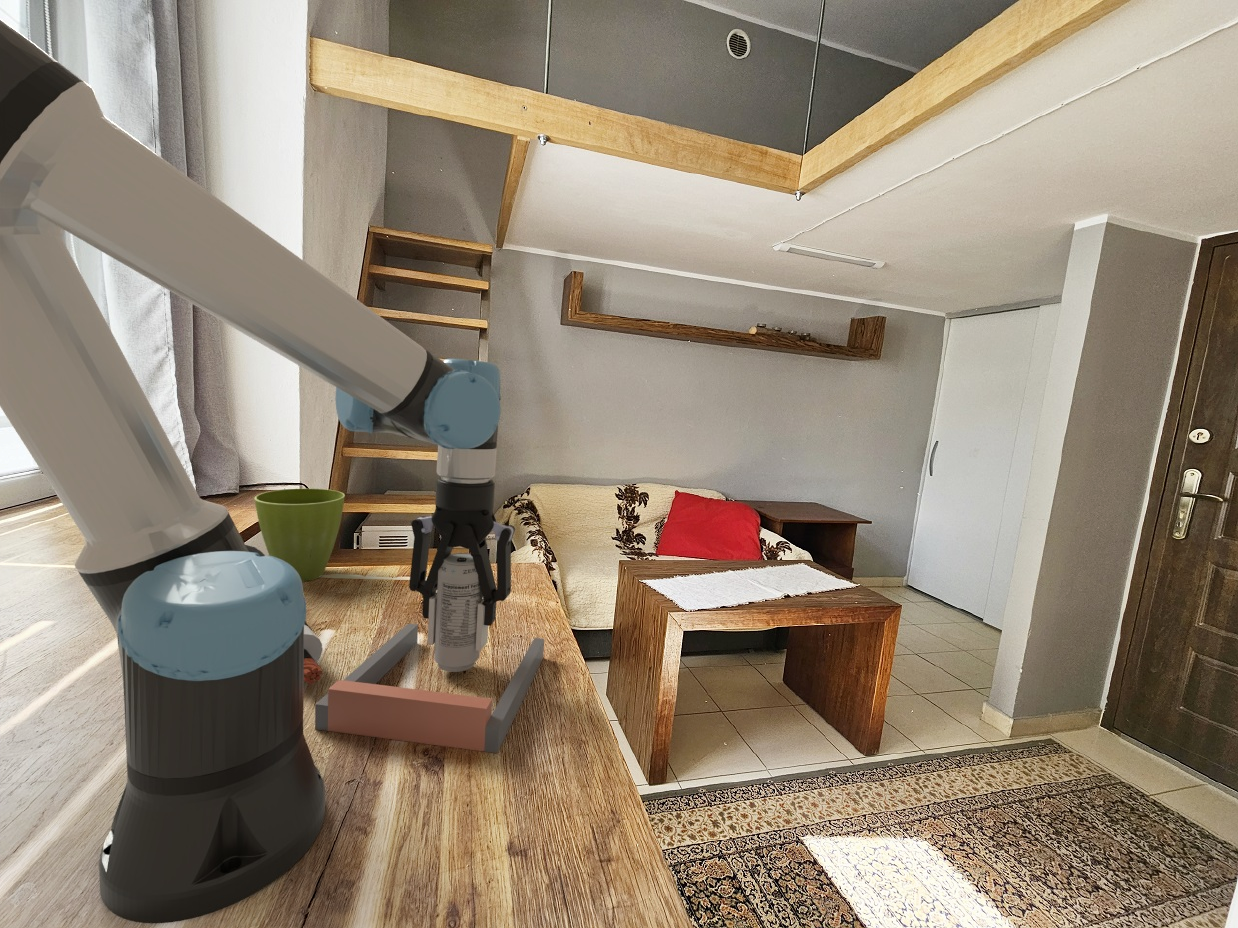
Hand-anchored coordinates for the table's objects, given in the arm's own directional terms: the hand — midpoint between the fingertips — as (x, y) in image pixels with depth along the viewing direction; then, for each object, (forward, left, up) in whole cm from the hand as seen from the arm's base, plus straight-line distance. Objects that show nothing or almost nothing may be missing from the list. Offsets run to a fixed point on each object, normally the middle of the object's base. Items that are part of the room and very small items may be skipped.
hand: (457, 642), depth 75 cm
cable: (+1, +29, -4) cm, 29 cm away
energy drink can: (0, 0, -3) cm, 3 cm away
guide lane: (-4, 0, -4) cm, 6 cm away
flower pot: (+28, +42, -4) cm, 51 cm away
